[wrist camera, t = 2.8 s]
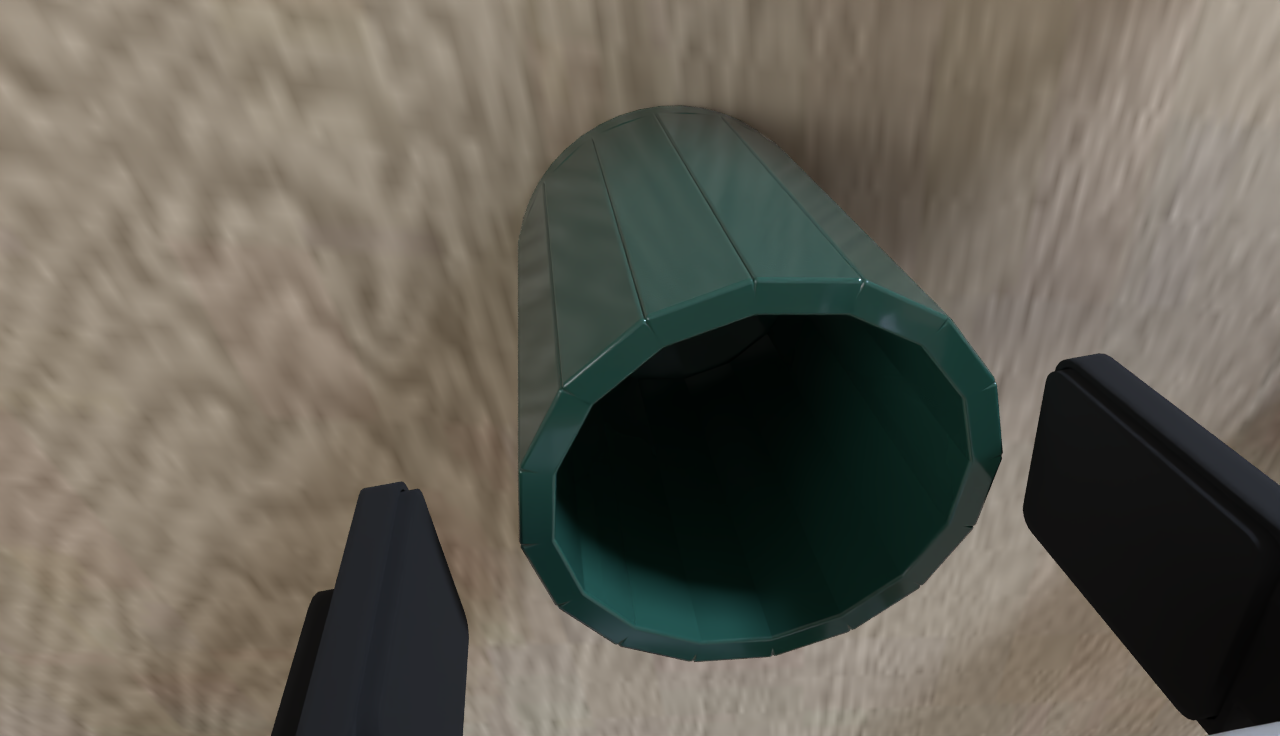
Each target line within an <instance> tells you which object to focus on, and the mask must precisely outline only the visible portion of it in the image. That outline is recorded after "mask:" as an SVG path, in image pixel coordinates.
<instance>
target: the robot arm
mask: <svg viewBox="0 0 1280 736" xmlns="http://www.w3.org/2000/svg"><path fill="white" fill-rule="evenodd" d="M1023 514H1024V518H1025V522H1026V524H1027V526H1028V528H1029V529H1030V531H1031V532H1032V533H1033V535H1034V536H1035V537H1036V538H1037V540H1038V541H1039V542H1040V543H1041V544H1042V546H1043V547H1044V548H1045V549H1046V551H1047V552H1048V553H1049V554H1050V555H1051V557H1052V558H1053V559H1054V560H1055V561H1056V563H1057V564H1058V565H1059V566H1060V568H1061V569H1062V570H1063V571H1064V572H1065V574H1066V575H1067V576H1068V577H1069V578H1070V580H1071V581H1072V582H1073V583H1074V585H1075V586H1076V587H1077V588H1078V589H1079V591H1080V592H1081V593H1082V594H1083V596H1084V597H1085V598H1086V599H1087V600H1088V602H1089V603H1090V604H1091V605H1092V606H1093V608H1094V609H1095V610H1096V611H1097V613H1098V614H1099V615H1100V616H1101V617H1102V619H1103V620H1104V621H1105V622H1106V624H1107V625H1108V626H1109V627H1110V628H1111V630H1112V631H1113V632H1114V633H1115V634H1116V636H1117V637H1118V638H1119V639H1120V641H1121V642H1122V643H1123V644H1124V645H1125V647H1126V648H1127V649H1128V650H1129V651H1130V653H1131V654H1132V655H1133V656H1134V658H1135V659H1136V660H1137V661H1138V662H1139V664H1140V665H1141V666H1142V667H1143V669H1144V670H1145V671H1146V672H1147V673H1148V675H1149V676H1150V677H1151V678H1152V679H1153V681H1154V682H1155V683H1156V684H1157V686H1158V687H1159V688H1160V689H1161V690H1162V692H1163V693H1164V694H1165V695H1166V697H1167V698H1168V699H1169V700H1170V701H1171V703H1172V704H1173V705H1174V706H1175V707H1176V709H1177V710H1178V711H1179V712H1180V713H1181V714H1182V715H1183V716H1185V717H1186V718H1188V719H1191V720H1197V721H1198V723H1199V724H1200V725H1201V726H1202V727H1203V729H1204V730H1205V731H1206V732H1207V733H1208V735H1207V736H1280V485H1278V484H1277V483H1276V482H1274V481H1273V480H1272V479H1271V478H1269V477H1268V476H1267V475H1265V474H1264V473H1263V472H1261V471H1260V470H1259V469H1257V468H1256V467H1255V466H1253V465H1252V464H1251V463H1250V462H1248V461H1247V460H1246V459H1244V458H1243V457H1242V456H1240V455H1239V454H1238V453H1236V452H1235V451H1234V450H1232V449H1231V448H1230V447H1228V446H1227V445H1226V444H1225V443H1223V442H1222V441H1221V440H1219V439H1218V438H1217V437H1215V436H1214V435H1213V434H1211V433H1210V432H1209V431H1207V430H1206V429H1205V428H1203V427H1202V426H1201V425H1200V424H1198V423H1197V422H1196V421H1194V420H1193V419H1192V418H1190V417H1189V416H1188V415H1186V414H1185V413H1184V412H1182V411H1181V410H1180V409H1179V408H1177V407H1176V406H1175V405H1173V404H1172V403H1171V402H1169V401H1168V400H1167V399H1165V398H1164V397H1163V396H1161V395H1160V394H1159V393H1157V392H1156V391H1155V390H1154V389H1152V388H1151V387H1150V386H1148V385H1147V384H1146V383H1144V382H1143V381H1142V380H1140V379H1139V378H1138V377H1136V376H1135V375H1134V374H1133V373H1131V372H1130V371H1129V370H1127V369H1126V368H1125V367H1123V366H1122V365H1121V364H1119V363H1118V362H1117V361H1115V360H1114V359H1113V358H1111V357H1110V356H1108V355H1106V354H1100V353H1099V354H1093V355H1088V356H1082V357H1077V358H1071V359H1066V360H1063V361H1061V362H1060V363H1059V364H1058V365H1057V367H1056V370H1055V371H1054V372H1052V373H1050V374H1049V375H1048V376H1047V379H1046V383H1045V389H1044V394H1043V400H1042V405H1041V411H1040V416H1039V422H1038V427H1037V433H1036V438H1035V443H1034V449H1033V454H1032V460H1031V465H1030V471H1029V476H1028V482H1027V487H1026V493H1025V498H1024V504H1023ZM468 643H469V634H468V624H467V619H466V615H465V612H464V609H463V606H462V604H461V601H460V598H459V595H458V592H457V589H456V587H455V584H454V581H453V578H452V575H451V573H450V570H449V567H448V564H447V561H446V559H445V556H444V553H443V550H442V547H441V544H440V542H439V539H438V536H437V533H436V530H435V528H434V525H433V522H432V519H431V516H430V514H429V511H428V508H427V505H426V502H425V499H424V497H423V494H422V492H421V491H420V489H414V490H408V488H407V486H406V484H405V483H404V482H396V483H390V484H385V485H380V486H374V487H369V488H364V489H362V490H361V492H360V494H359V497H358V501H357V505H356V508H355V512H354V516H353V520H352V524H351V527H350V531H349V535H348V539H347V542H346V546H345V550H344V554H343V558H342V561H341V565H340V569H339V573H338V577H337V580H336V584H335V588H334V589H331V590H326V591H320V592H317V593H316V594H315V596H314V597H313V598H312V600H311V603H310V605H309V608H308V611H307V614H306V618H305V621H304V625H303V628H302V631H301V635H300V638H299V642H298V645H297V649H296V652H295V655H294V659H293V662H292V666H291V669H290V672H289V676H288V679H287V683H286V686H285V689H284V693H283V696H282V700H281V703H280V707H279V710H278V713H277V717H276V720H275V724H274V727H273V730H272V734H271V736H463V723H464V707H465V691H466V675H467V659H468Z"/></svg>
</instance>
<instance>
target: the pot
mask: <svg viewBox="0 0 1280 736" xmlns="http://www.w3.org/2000/svg"><path fill="white" fill-rule="evenodd" d="M1002 453H1003V451H1002V439H1001V427H1000V416H999V404H998V392H997V383H996V382H995V379H994V376H993V375H992V373H991V372H990V371H989V369H988V368H987V367H986V365H985V364H984V363H983V361H982V360H981V358H980V357H979V356H978V354H977V353H976V352H975V350H974V349H973V348H972V346H971V345H970V343H969V342H968V341H967V339H966V338H965V337H964V335H963V334H962V333H961V331H960V330H959V329H958V327H957V326H956V324H955V323H954V322H953V320H952V319H951V318H950V317H949V316H948V315H947V314H946V313H945V312H944V311H943V310H942V309H941V308H940V307H939V306H938V305H937V304H936V303H935V302H934V301H933V300H932V299H931V298H930V297H929V296H928V295H927V294H926V293H925V292H924V291H923V290H922V289H921V288H920V287H919V286H918V285H917V284H916V283H915V282H914V281H913V280H912V279H911V278H910V277H909V276H908V275H907V274H906V273H905V272H904V271H903V270H902V269H901V268H900V267H899V266H898V265H897V264H896V263H895V262H894V261H893V260H892V259H891V258H890V257H889V256H888V255H887V254H886V253H885V252H884V251H883V250H882V249H881V248H880V247H879V246H878V245H877V244H876V243H875V242H874V241H873V240H872V239H871V238H870V237H869V236H868V235H867V234H866V233H865V232H864V231H863V230H862V229H861V228H860V227H859V226H858V225H857V224H856V223H855V222H854V221H853V220H852V219H851V218H850V217H849V216H848V215H847V214H846V213H845V212H844V211H843V210H842V209H841V208H840V207H839V206H838V205H837V204H836V203H835V202H834V201H833V200H832V199H831V198H830V197H829V196H828V195H827V194H826V193H825V192H824V191H823V190H822V189H821V188H820V187H819V186H818V185H817V184H816V183H815V182H814V181H813V180H812V179H811V178H810V177H809V176H808V175H807V174H806V173H805V172H804V171H803V170H802V169H801V168H800V167H799V166H798V165H797V164H796V163H795V162H794V161H793V160H792V159H791V158H790V157H789V156H788V155H787V154H786V153H785V152H784V151H783V150H782V149H781V148H780V147H779V146H778V145H777V144H776V143H775V142H773V141H771V140H769V139H767V138H766V137H765V136H764V135H762V134H761V133H760V132H759V131H757V130H756V129H754V128H752V127H751V126H749V125H747V124H746V123H744V122H742V121H741V120H738V119H736V118H733V117H731V116H729V115H726V114H724V113H721V112H717V111H713V110H709V109H705V108H700V107H691V106H658V107H652V108H646V109H640V110H637V111H633V112H630V113H627V114H623V115H620V116H618V117H615V118H613V119H611V120H609V121H607V122H604V123H602V124H600V125H598V126H597V127H595V128H593V129H592V130H590V131H589V132H587V133H585V134H584V135H582V136H581V137H580V138H578V139H577V140H576V141H575V142H574V143H572V144H571V145H570V146H569V147H568V148H566V149H565V150H564V151H563V152H562V153H561V154H560V156H559V157H558V158H557V159H556V160H555V161H554V162H553V163H552V164H551V165H550V167H549V168H548V170H547V171H546V172H545V174H544V175H543V177H542V178H541V180H540V181H539V183H538V185H537V186H536V188H535V190H534V192H533V194H532V196H531V198H530V200H529V203H528V206H527V209H526V212H525V214H524V217H523V222H522V226H521V231H520V235H519V240H518V506H519V542H520V544H521V549H522V550H523V552H524V554H525V555H526V557H527V559H528V560H529V562H530V564H531V565H532V567H533V569H534V570H535V572H536V574H537V575H538V577H539V579H540V580H541V582H542V584H543V585H544V587H545V589H546V590H547V592H548V594H549V595H550V597H551V599H552V600H553V602H554V603H555V605H558V607H559V609H561V610H562V611H564V612H566V613H567V614H569V615H570V616H572V617H573V618H575V619H576V620H578V621H580V622H581V623H583V624H584V625H586V626H587V627H589V628H590V629H592V630H594V631H595V632H597V633H598V634H600V635H601V636H603V637H604V638H606V639H608V640H609V641H611V642H612V643H614V644H618V645H619V646H621V647H625V648H630V649H634V650H639V651H643V652H648V653H653V654H657V655H662V656H666V657H671V658H675V659H680V660H685V661H694V662H703V661H718V660H732V659H747V658H762V657H771V656H772V655H774V656H777V655H780V654H783V653H786V652H789V651H792V650H795V649H798V648H801V647H804V646H807V645H810V644H813V643H816V642H819V641H822V640H826V639H829V638H832V637H835V636H838V635H841V634H844V633H847V632H849V631H850V629H852V630H853V629H856V628H857V627H859V626H860V625H862V624H864V623H865V622H867V621H868V620H870V619H871V618H873V617H875V616H876V615H878V614H879V613H881V612H882V611H884V610H886V609H887V608H889V607H890V606H892V605H894V604H895V603H897V602H898V601H900V600H901V599H903V598H905V597H906V596H908V595H909V594H911V593H912V592H914V591H916V590H917V589H919V587H920V585H923V584H924V583H925V582H926V581H927V580H928V579H929V578H930V577H931V575H932V574H933V573H934V572H935V571H936V570H937V569H938V568H939V566H940V565H941V564H942V563H943V562H944V561H945V560H946V559H947V557H948V556H949V555H950V554H951V553H952V552H953V551H954V550H955V548H956V547H957V546H958V545H959V544H960V543H961V542H962V541H963V539H964V538H965V537H966V536H967V535H968V534H969V533H970V532H971V531H972V529H973V526H974V525H975V524H976V523H977V520H978V518H979V515H980V513H981V510H982V508H983V505H984V503H985V500H986V498H987V495H988V492H989V490H990V487H991V485H992V482H993V480H994V477H995V475H996V472H997V470H998V467H999V465H1000V462H1001V460H1002V456H1001V455H1002Z"/></svg>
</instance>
